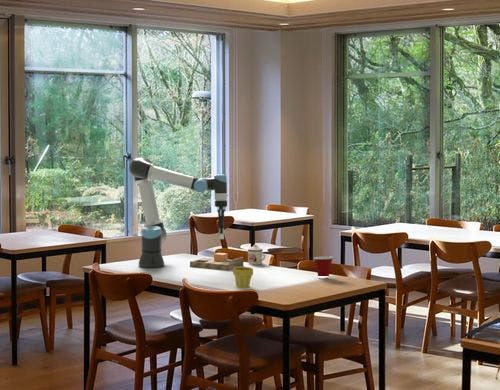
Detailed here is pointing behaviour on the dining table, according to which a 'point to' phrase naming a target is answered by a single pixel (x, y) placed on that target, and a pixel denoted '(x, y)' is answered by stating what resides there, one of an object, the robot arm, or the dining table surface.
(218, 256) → the block
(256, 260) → the teacup with lid
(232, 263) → the trap board
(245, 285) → the plant pot
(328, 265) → the plastic cup
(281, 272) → the dining table surface
